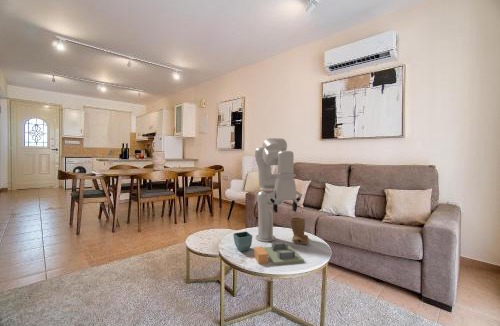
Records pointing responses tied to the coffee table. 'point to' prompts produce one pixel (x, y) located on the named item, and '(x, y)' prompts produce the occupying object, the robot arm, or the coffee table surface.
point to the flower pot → (242, 240)
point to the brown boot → (298, 230)
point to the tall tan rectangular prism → (260, 255)
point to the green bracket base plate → (283, 254)
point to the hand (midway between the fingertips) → (285, 211)
